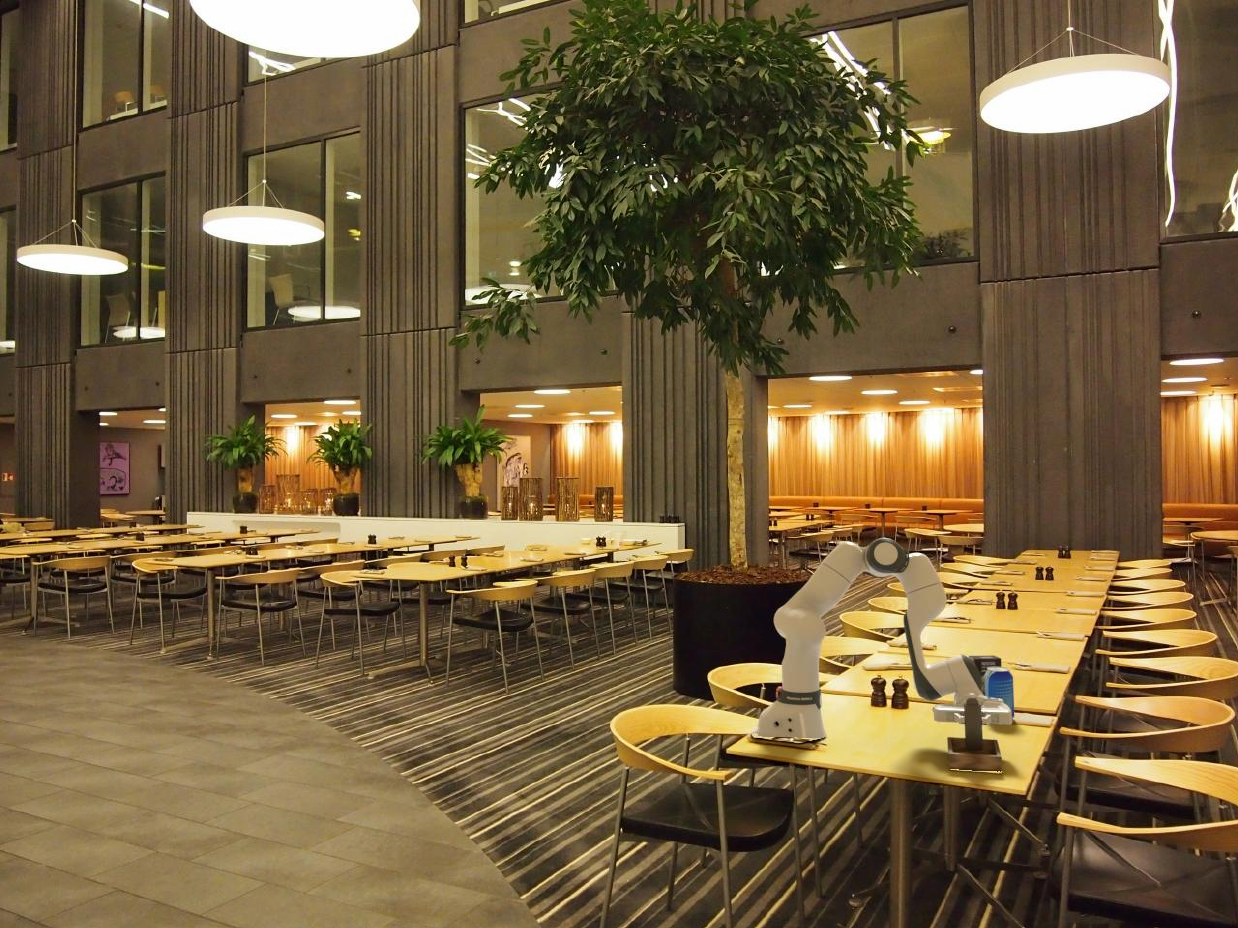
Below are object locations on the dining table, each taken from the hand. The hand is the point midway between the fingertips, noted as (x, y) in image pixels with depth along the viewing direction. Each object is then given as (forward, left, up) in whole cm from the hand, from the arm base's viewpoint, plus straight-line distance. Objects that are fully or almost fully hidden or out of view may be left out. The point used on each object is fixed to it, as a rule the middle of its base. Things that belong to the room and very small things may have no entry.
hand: (973, 721), depth 248 cm
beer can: (+10, +50, -12) cm, 52 cm away
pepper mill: (0, +1, -7) cm, 8 cm away
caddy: (0, +1, -11) cm, 11 cm away
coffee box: (+7, +69, -12) cm, 70 cm away
